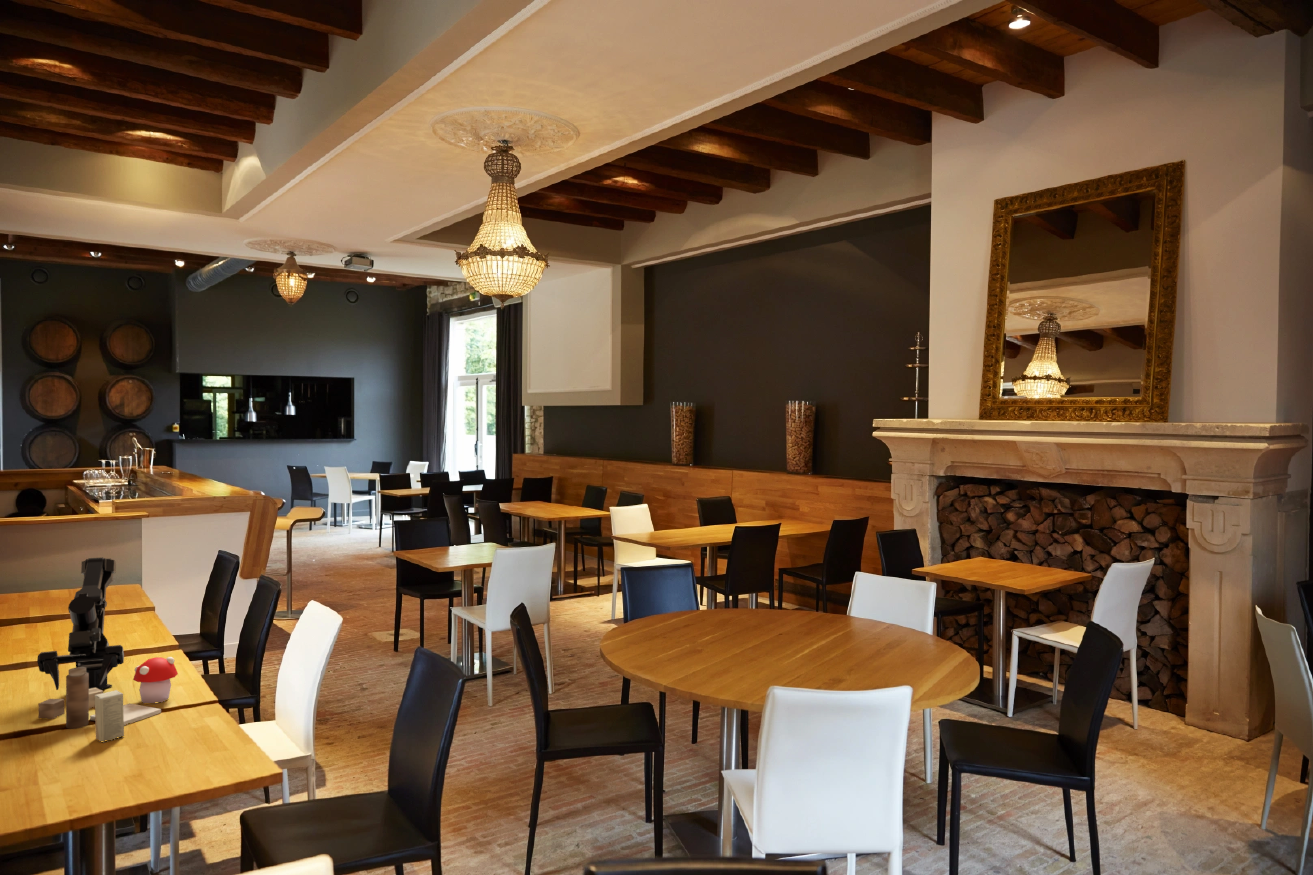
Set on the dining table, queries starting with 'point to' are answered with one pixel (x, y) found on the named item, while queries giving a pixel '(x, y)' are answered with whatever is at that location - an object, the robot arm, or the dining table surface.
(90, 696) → the oak block
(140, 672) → the mushroom
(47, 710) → the walnut block
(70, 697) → the pepper mill
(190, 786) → the dining table surface
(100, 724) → the box
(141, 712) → the plate
